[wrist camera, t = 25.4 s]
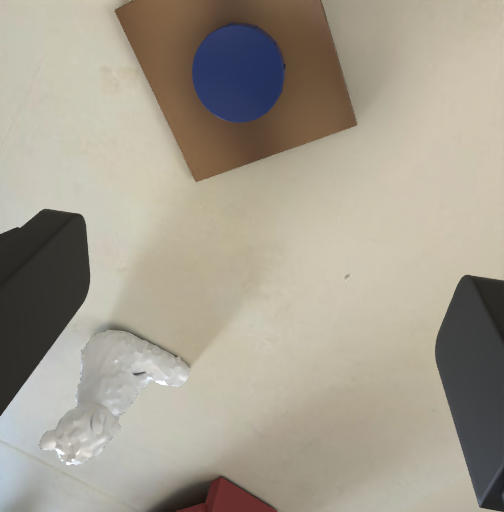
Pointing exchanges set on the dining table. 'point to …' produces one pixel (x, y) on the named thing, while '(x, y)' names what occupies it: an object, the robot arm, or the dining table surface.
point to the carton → (228, 500)
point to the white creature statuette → (109, 391)
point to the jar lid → (238, 72)
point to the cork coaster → (286, 107)
